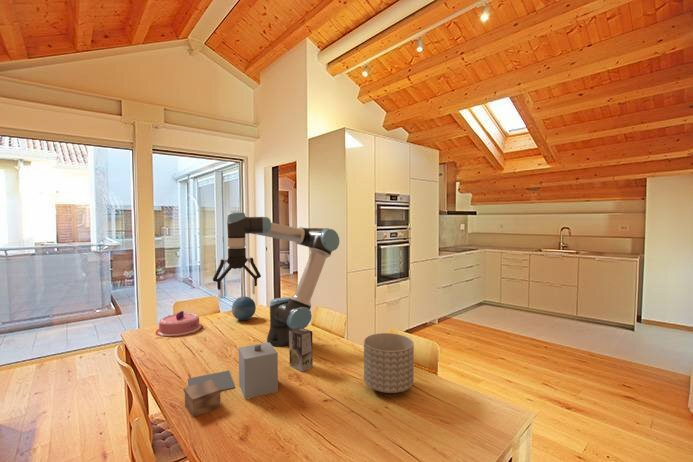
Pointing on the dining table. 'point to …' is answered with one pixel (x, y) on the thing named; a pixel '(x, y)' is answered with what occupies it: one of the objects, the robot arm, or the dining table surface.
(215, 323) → the dining table surface
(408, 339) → the planter
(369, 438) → the dining table surface
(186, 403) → the box
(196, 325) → the cake
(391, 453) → the dining table surface
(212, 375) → the mat
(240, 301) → the decorative ball
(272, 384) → the cover
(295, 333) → the coffee box
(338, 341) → the dining table surface
